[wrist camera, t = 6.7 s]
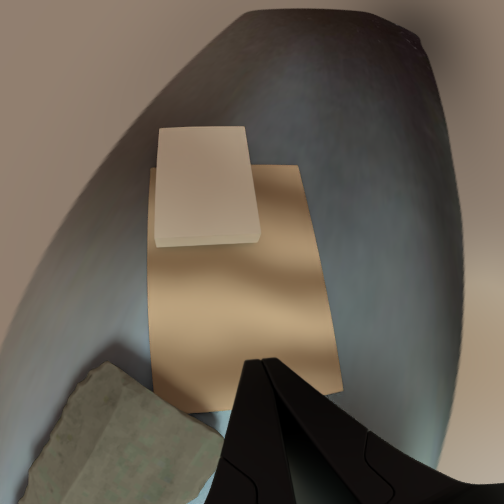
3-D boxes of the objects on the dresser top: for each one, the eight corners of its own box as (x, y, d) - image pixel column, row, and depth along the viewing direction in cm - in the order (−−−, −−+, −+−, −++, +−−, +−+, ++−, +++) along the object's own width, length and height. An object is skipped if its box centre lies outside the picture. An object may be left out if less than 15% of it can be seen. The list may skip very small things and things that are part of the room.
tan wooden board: (340, 390, 20) (343, 390, 19) (157, 414, 17) (156, 414, 17) (296, 168, 27) (297, 165, 26) (151, 170, 24) (150, 168, 24)
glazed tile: (261, 233, 21) (244, 126, 25) (154, 238, 20) (159, 128, 24) (256, 244, 23) (241, 140, 27) (157, 249, 21) (160, 142, 25)
